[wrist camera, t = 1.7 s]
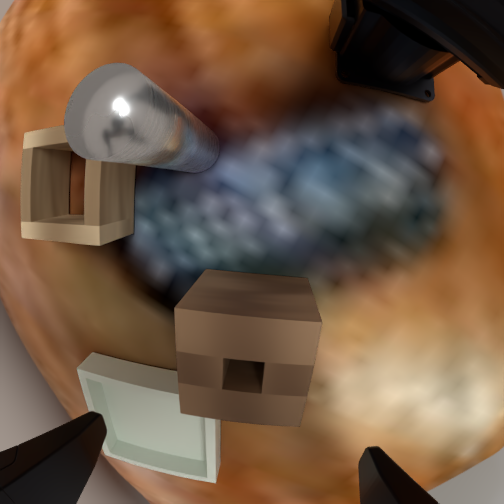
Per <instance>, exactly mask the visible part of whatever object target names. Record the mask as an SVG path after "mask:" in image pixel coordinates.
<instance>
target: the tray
mask: <svg viewBox="0 0 504 504" xmlns="http://www.w3.org/2000/svg"><path fill="white" fill-rule="evenodd" d="M77 372H78V376H79V380H80V383H81V387H82V390H83V394H84V397H85V400H86V403H87V407H88V410H89V412H90V411H94V412H97V413H100V414H102V415H103V418H104V421H105V424H106V427H107V435H106V438H105V440H104V443H103V446H102V448H103V451H104V453H105V455H107V456H110V457H113V458H116V459H119V460H122V461H125V462H128V463H131V464H134V465H137V466H141V467H144V468H148V469H151V470H155V471H159V472H163V473H167V474H171V475H176V476H180V477H185V478H190V479H195V480H200V481H206V482H212V483H216V480H217V476H218V471H219V466H220V439H221V420H217V419H211V418H204V417H198V416H192V415H187V414H182V413H180V402H179V390H178V377H177V371H173V370H167V369H162V368H157V367H152V366H147V365H143V364H138V363H134V362H129V361H125V360H121V359H117V358H113V357H109V356H105V355H101V354H98V353H94V352H92V353H91V354H90V355H89V356H88V357H87V358H86V359H85V360H84V361H83V362H82V363H81V364H80V365H79V366H78V367H77Z"/></svg>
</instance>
